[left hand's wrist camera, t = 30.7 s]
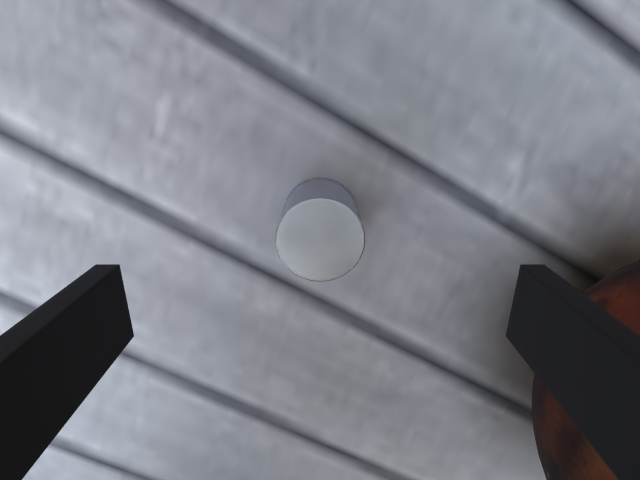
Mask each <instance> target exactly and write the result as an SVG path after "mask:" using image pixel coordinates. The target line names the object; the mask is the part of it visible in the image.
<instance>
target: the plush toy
mask: <svg viewBox="0 0 640 480" xmlns="http://www.w3.org/2000/svg"><path fill="white" fill-rule="evenodd" d="M583 294H584V295H586V296H587V297H588V298H590V299H591V300H592V301H594V302H595V303H596V304H598V305H599V306H600V307H602V308H603V309H604V310H606V311H607V312H608V313H610V314H611V315H612V316H614V317H615V318H616V319H618V320H619V321H620V322H622V323H623V324H625V325H626V326H627V327H629V328H630V329H631V330H633V331H634V332H635V333H637V334H638V335H639V336H640V261H637V262H635V263H632V264H630V265H628V266H625V267H623V268H621V269H619V270H617V271H615V272H613V273H611V274H610V275H608V276H606V277H604V278H603V279H601V280H600V281H599V282H597V283H596V284H594V285H593V286H591V287H590V288H589V289H587V290H586V291H584V292H583ZM532 416H533V428H534V434H535V439H536V444H537V449H538V454H539V457H540V460H541V463H542V466H543V470H544V473H545V476H546V479H547V480H618V479H617V477H616V476H615V475H614V473H613V472H612V471H611V470H610V468H609V467H608V466H607V465H606V463H605V462H604V461H603V459H602V458H601V457H600V456H599V454H598V453H597V452H596V450H595V449H594V448H593V447H592V445H591V444H590V443H589V442H588V440H587V439H586V438H585V436H584V435H583V434H582V433H581V431H580V430H579V429H578V427H577V426H576V425H575V424H574V422H573V421H572V420H571V418H570V417H569V416H568V415H567V413H566V412H565V411H564V410H563V408H562V407H561V406H560V404H559V403H558V402H557V401H556V399H555V398H554V397H553V395H552V394H551V393H550V392H549V390H548V389H547V388H546V386H545V385H544V384H543V383H542V381H541V380H540V379H539V378H538V376H537V375H536V374H535V377H534V382H533V393H532Z"/></svg>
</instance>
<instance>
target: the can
mask: <svg viewBox="0 0 640 480" xmlns="http://www.w3.org/2000/svg"><path fill="white" fill-rule="evenodd" d="M364 245H365V234H364V229H363V226H362V223H361V220H360V217H359V214H358V211H357V208H356V205H355V202H354V199H353V197H352V196H351V194H350V193H349V191H348V190H347V189H346V188H345V187H344V186H342V185H341V184H339V183H337V182H336V181H333V180H330V179H324V178H316V179H311V180H307V181H305V182H303V183H301V184H300V185H298V186H297V187H296V188H295V189H294V190H293V191H292V192H291V193H290V195H289V196H288V198H287V200H286V203H285V206H284V209H283V212H282V215H281V218H280V222H279V225H278V228H277V232H276V247H277V251H278V254H279V256H280V258H281V260H282V262H283V263H284V264H285V266H286V267H287V268H288V269H289V270H291V271H292V272H293V273H294V274H296V275H298V276H300V277H302V278H304V279H307V280H312V281H329V280H333V279H336V278H339V277H341V276H343V275H345V274H346V273H348V272H349V271H350V270H351V269H352V268H353V267H354V266H355V265H356V264H357V263H358V261H359V259H360V258H361V255H362V253H363V250H364Z"/></svg>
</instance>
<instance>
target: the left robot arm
mask: <svg viewBox="0 0 640 480" xmlns="http://www.w3.org/2000/svg"><path fill="white" fill-rule="evenodd" d="M133 337H134V334H133V329H132V324H131V319H130V314H129V309H128V304H127V299H126V295H125V290H124V285H123V280H122V275H121V270H120V265H95V266H93V267H92V268H91V269H89V270H88V271H87V272H85V273H84V274H83V275H81V276H80V277H79V278H77V279H76V280H75V281H73V282H72V283H71V284H69V285H68V286H67V287H65V288H64V289H63V290H61V291H60V292H59V293H57V294H56V295H54V296H53V297H52V298H50V299H49V300H48V301H46V302H45V303H44V304H42V305H41V306H40V307H38V308H37V309H36V310H34V311H33V312H32V313H30V314H29V315H28V316H26V317H25V318H24V319H22V320H21V321H20V322H18V323H17V324H15V325H14V326H13V327H11V328H10V329H9V330H7V331H6V332H5V333H3V334H2V335H1V336H0V480H22V479H23V477H24V476H25V475H26V473H27V472H28V471H29V470H30V468H31V467H32V466H33V465H34V463H35V462H36V461H37V459H38V458H39V457H40V456H41V454H42V453H43V452H44V450H45V449H46V448H47V447H48V445H49V444H50V443H51V441H52V440H53V439H54V438H55V436H56V435H57V434H58V433H59V431H60V430H61V429H62V427H63V426H64V425H65V424H66V422H67V421H68V420H69V418H70V417H71V416H72V415H73V413H74V412H75V411H76V410H77V408H78V407H79V406H80V404H81V403H82V402H83V401H84V399H85V398H86V397H87V395H88V394H89V393H90V392H91V390H92V389H93V388H94V386H95V385H96V384H97V383H98V381H99V380H100V379H101V378H102V376H103V375H104V374H105V372H106V371H107V370H108V369H109V367H110V366H111V365H112V363H113V362H114V361H115V360H116V358H117V357H118V356H119V354H120V353H121V352H122V351H123V349H124V348H125V347H126V346H127V344H128V343H129V342H130V340H131V339H132V338H133ZM506 337H507V338H508V339H509V340H510V342H511V343H512V344H513V346H514V347H515V348H516V349H517V351H518V352H519V353H520V354H521V356H522V357H523V358H524V360H525V361H526V362H527V363H528V365H529V366H530V367H531V369H532V370H533V371H534V372H535V374H536V375H537V376H538V378H539V379H540V380H541V381H542V383H543V384H544V385H545V386H546V388H547V389H548V390H549V392H550V393H551V394H552V395H553V397H554V398H555V399H556V401H557V402H558V403H559V404H560V406H561V407H562V408H563V410H564V411H565V412H566V413H567V415H568V416H569V417H570V418H571V420H572V421H573V422H574V424H575V425H576V426H577V427H578V429H579V430H580V431H581V433H582V434H583V435H584V436H585V438H586V439H587V440H588V442H589V443H590V444H591V445H592V447H593V448H594V449H595V450H596V452H597V453H598V454H599V456H600V457H601V458H602V459H603V461H604V462H605V463H606V465H607V466H608V467H609V468H610V470H611V471H612V472H613V473H614V475H615V476H616V477H617V479H618V480H640V336H639V335H638V334H637V333H635V332H634V331H633V330H631V329H630V328H629V327H627V326H626V325H625V324H623V323H622V322H620V321H619V320H618V319H616V318H615V317H614V316H612V315H611V314H610V313H608V312H607V311H606V310H604V309H603V308H602V307H600V306H599V305H598V304H596V303H595V302H594V301H592V300H591V299H590V298H588V297H587V296H586V295H584V294H583V293H581V292H580V291H579V290H577V289H576V288H575V287H573V286H572V285H571V284H569V283H568V282H567V281H565V280H564V279H563V278H561V277H560V276H559V275H557V274H556V273H555V272H553V271H552V270H551V269H549V268H548V267H547V266H545V265H520V270H519V275H518V280H517V285H516V290H515V295H514V299H513V304H512V309H511V314H510V319H509V324H508V329H507V334H506Z"/></svg>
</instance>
